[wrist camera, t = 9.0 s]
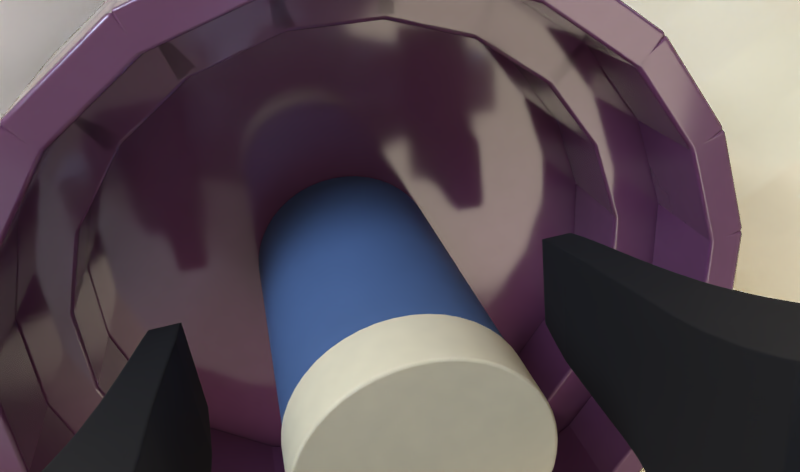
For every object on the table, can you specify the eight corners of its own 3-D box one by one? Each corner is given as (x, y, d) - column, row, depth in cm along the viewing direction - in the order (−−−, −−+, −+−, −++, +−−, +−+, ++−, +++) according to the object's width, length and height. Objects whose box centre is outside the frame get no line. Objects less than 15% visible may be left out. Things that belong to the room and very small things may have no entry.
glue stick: (423, 156, 16) (555, 328, 10) (441, 310, 18) (561, 532, 12) (237, 194, 16) (260, 402, 10) (276, 349, 18) (316, 605, 11)
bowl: (646, -120, 15) (798, -116, 11) (607, 414, 22) (695, 532, 18) (-106, -48, 13) (-239, -12, 9) (106, 531, 20) (82, 697, 16)
